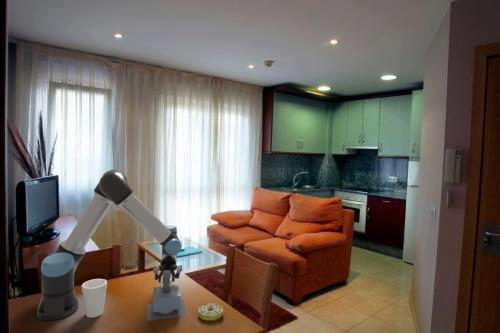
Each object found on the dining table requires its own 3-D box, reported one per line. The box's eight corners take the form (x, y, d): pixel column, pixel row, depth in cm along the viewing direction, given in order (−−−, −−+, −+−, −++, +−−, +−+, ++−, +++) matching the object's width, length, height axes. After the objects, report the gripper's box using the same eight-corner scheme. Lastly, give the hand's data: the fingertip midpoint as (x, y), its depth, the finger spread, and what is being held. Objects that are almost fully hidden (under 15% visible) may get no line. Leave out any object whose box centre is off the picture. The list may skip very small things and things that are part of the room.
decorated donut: (224, 310, 137) (224, 301, 137) (221, 323, 126) (221, 314, 126) (200, 309, 137) (201, 300, 137) (196, 322, 126) (196, 313, 126)
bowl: (157, 314, 130) (158, 306, 130) (157, 306, 137) (157, 298, 137) (174, 312, 132) (175, 304, 132) (173, 304, 139) (174, 297, 139)
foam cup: (96, 321, 125) (96, 289, 124) (76, 318, 127) (76, 287, 126) (111, 309, 134) (111, 280, 134) (93, 306, 136) (92, 277, 136)
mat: (146, 321, 126) (146, 320, 126) (147, 304, 139) (147, 304, 139) (186, 316, 130) (186, 315, 130) (183, 300, 144) (183, 299, 144)
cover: (153, 312, 128) (153, 277, 127) (153, 299, 138) (153, 267, 137) (180, 308, 131) (180, 275, 130) (178, 296, 141) (178, 265, 141)
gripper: (185, 269, 153) (185, 291, 130) (151, 271, 150) (145, 294, 127) (185, 254, 153) (185, 273, 130) (151, 256, 149) (145, 276, 127)
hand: (166, 283), depth 129 cm, fingers closed on cover, 3 cm apart
